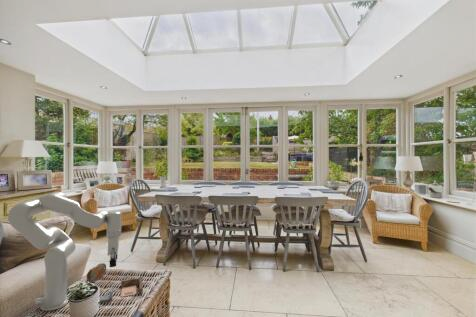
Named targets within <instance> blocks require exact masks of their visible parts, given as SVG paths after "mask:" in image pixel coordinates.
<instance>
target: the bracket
mask: <svg viewBox="0 0 476 317" xmlns="http://www.w3.org/2000/svg"><path fill="white" fill-rule="evenodd" d="M109 290H110V291H109V294H105V295H104V294H103V295H99V296H100V303H104V302H105V303H106V302H110V301H113V297H114V287H110V289H109Z"/></svg>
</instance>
